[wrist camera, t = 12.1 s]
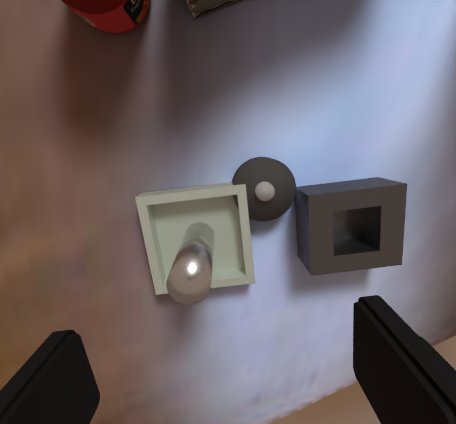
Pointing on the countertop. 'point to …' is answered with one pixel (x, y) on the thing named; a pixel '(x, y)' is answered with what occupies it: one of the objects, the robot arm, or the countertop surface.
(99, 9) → the canned food
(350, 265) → the block
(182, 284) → the pin
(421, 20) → the countertop surface
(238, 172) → the wheel
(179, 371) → the countertop surface
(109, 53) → the countertop surface
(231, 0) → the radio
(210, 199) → the parts tray
